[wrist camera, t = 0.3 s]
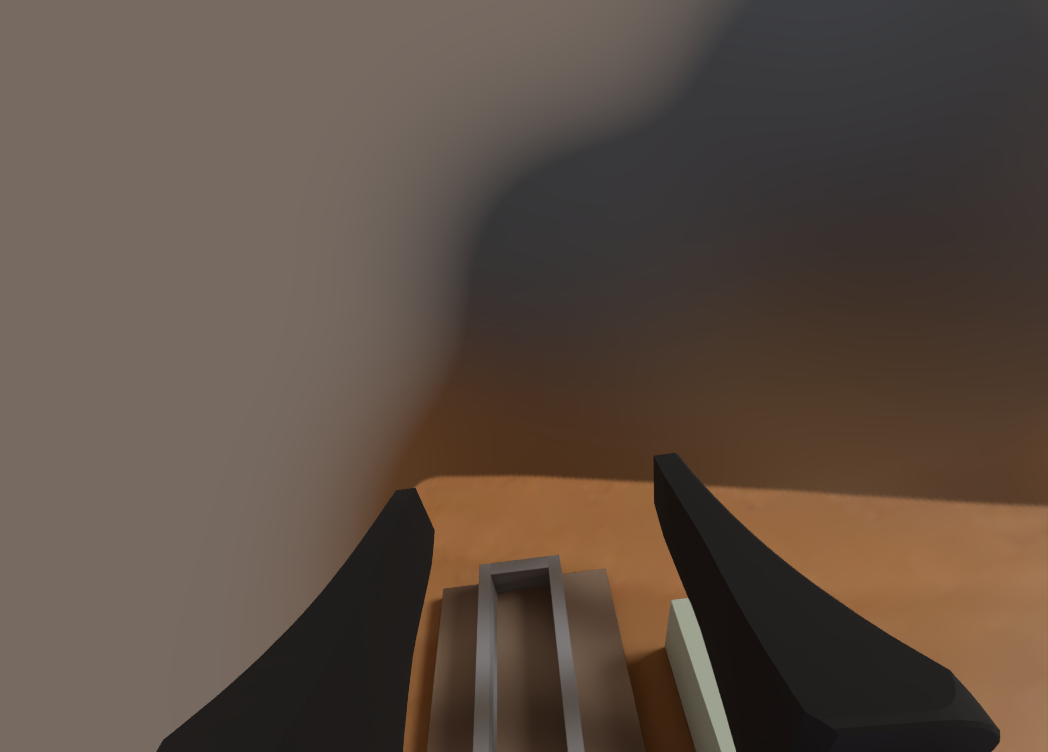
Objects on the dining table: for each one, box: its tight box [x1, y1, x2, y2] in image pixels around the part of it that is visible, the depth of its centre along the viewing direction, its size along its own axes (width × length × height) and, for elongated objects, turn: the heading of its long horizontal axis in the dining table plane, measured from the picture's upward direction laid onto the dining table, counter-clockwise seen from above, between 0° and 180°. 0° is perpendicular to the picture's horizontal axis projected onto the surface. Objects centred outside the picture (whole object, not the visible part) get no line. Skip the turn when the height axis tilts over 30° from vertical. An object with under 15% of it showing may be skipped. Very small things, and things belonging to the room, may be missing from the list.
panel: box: [665, 598, 736, 752], centre depth 22 cm, size 8×2×6 cm, turn 3°
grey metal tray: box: [427, 555, 646, 752], centre depth 23 cm, size 18×12×4 cm, turn 3°
